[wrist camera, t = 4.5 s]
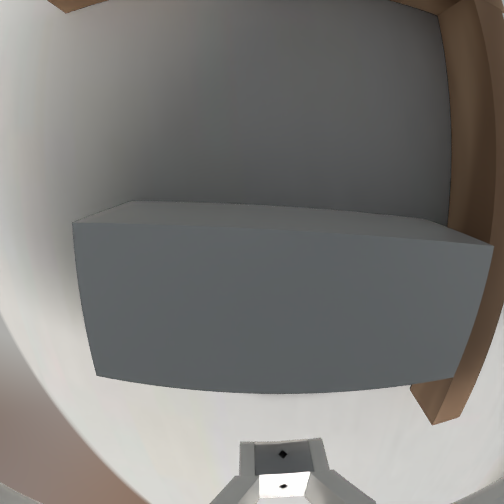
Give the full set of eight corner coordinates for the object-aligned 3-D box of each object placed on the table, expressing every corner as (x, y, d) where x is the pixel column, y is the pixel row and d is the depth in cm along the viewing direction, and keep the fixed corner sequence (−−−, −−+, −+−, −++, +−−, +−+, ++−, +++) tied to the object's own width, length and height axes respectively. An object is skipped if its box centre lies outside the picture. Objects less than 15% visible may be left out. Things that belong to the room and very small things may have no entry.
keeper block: (422, 217, 10) (494, 246, 6) (402, 318, 11) (453, 377, 7) (134, 200, 10) (72, 222, 6) (139, 310, 11) (96, 375, 7)
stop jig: (460, -7, 7) (491, -27, 5) (439, 383, 12) (463, 415, 9) (75, -23, 7) (47, -49, 4) (94, 393, 12) (73, 429, 9)
